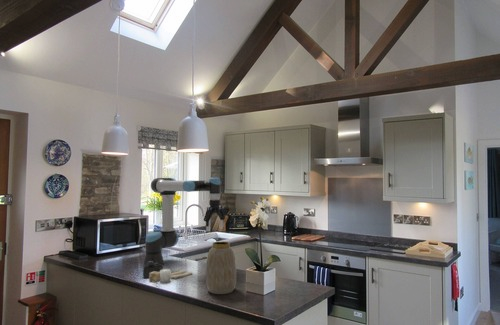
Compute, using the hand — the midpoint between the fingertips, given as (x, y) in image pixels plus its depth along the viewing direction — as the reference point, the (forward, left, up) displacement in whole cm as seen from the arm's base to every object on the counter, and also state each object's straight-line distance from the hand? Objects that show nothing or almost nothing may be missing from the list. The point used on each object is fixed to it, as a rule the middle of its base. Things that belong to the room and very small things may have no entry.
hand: (214, 230), depth 255 cm
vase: (+34, -34, -28) cm, 56 cm away
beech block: (-14, -41, -28) cm, 51 cm away
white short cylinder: (-7, -39, -28) cm, 48 cm away
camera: (-24, -35, -28) cm, 51 cm away
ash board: (-11, -25, -28) cm, 39 cm away
